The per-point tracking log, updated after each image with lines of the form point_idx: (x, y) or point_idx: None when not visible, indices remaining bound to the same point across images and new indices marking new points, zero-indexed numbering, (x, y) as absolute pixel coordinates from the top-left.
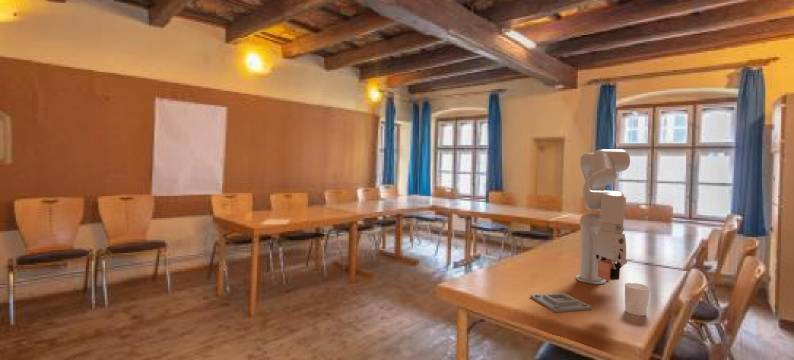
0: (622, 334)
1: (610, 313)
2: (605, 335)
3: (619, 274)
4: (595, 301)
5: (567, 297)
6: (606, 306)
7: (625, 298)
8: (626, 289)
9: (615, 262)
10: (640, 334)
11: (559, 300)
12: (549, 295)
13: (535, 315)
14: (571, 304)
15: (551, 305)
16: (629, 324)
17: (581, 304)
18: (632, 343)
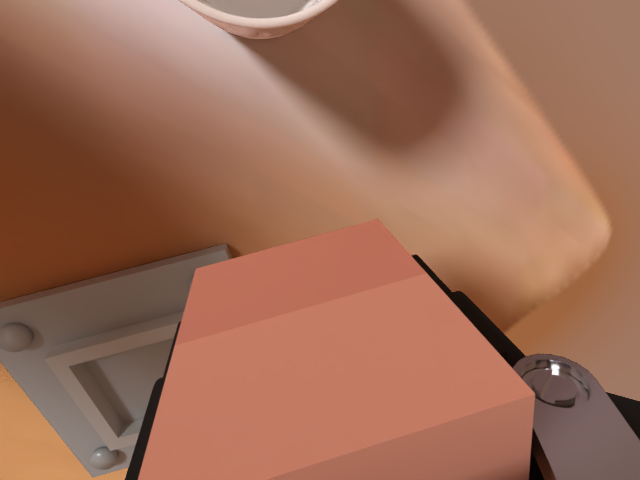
0: (521, 245)
1: (284, 168)
2: (513, 312)
3: (405, 251)
4: (61, 154)
5: (119, 349)
6: (157, 126)
7: (237, 34)
8: (254, 31)
9: (425, 465)
10: (540, 164)
11: (150, 380)
12: (111, 424)
13: None
14: None
15: None
16: (435, 147)
17: None
18: (592, 249)
